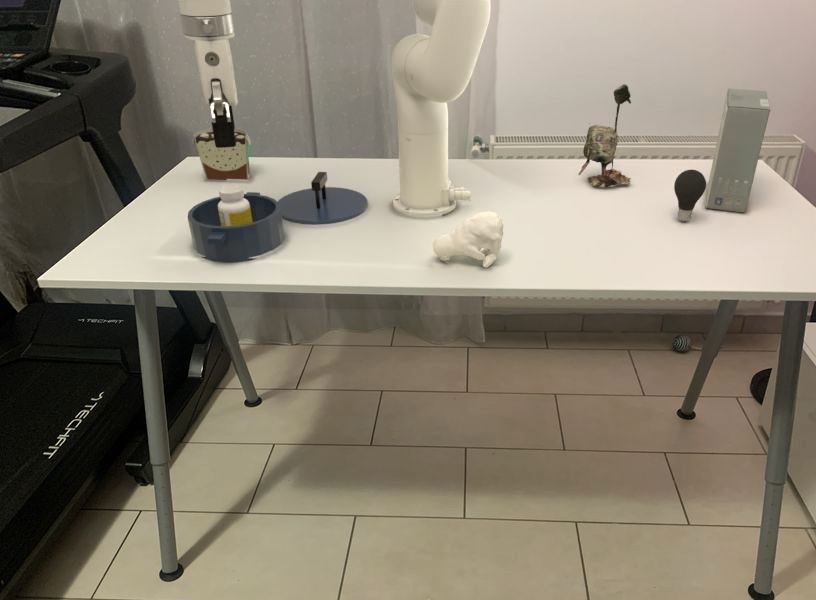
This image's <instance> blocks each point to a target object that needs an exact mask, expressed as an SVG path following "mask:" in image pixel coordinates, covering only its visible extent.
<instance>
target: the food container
mask: <svg viewBox="0 0 816 600" xmlns="http://www.w3.org/2000/svg"><path fill="white" fill-rule="evenodd" d="M234 134H235V140H236V146H235V147H224V148H217V147H216V146H215V141H214V135H213V129H212V128H208V129H203V130H200V131H197V132H195V133H193V137H192V145H195V146H196V149H197V153H198V156H199V160H200V163H201V166H202V170H203V172H204V176H205V180H206V181H207V182H226V181H227V180H250V158H249V157H250V156H249V146H251V144H252V142H251V138H250V136H249V134H248V132H247V131H246V130H245V129H242V128H237V127H235V129H234Z"/></svg>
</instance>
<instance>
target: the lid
mask: <svg viewBox="0 0 816 600" xmlns="http://www.w3.org/2000/svg"><path fill="white" fill-rule="evenodd" d="M327 182H328V173H327V171H318V172H317V173H316V175H315V177H314V178H313V179H312V181H311V182H310V185H311V188H305V189H301V190H297V191H293V192H291V193H288V194H286V195H284V196H282V197H281V198H280V199H278V200H277V202H278V203H280V209H281V216H282V220H283V219H284V220H286V221H287V222H288V221H289V222H291V223H295V224H296V223H297V224H302V225H329V224H335V223H340V222H344V221H348V220H350V219H354V218H355V217H358V216H359V215H361V214H363V213H364V212H365V211H366V210H367V208H368V206H369V204H368V203H369V201H368V198H367V197H366V195H364V194H363V193H361V192H359V191H357V190H354V189H350V188H345V187H333V186H326V184H327Z"/></svg>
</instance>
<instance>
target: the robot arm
mask: <svg viewBox="0 0 816 600" xmlns="http://www.w3.org/2000/svg"><path fill="white" fill-rule="evenodd" d="M177 4H178V9H179V14H180V15H179V16H180V20H181V21H180V23H181V26H182V33H183V37H184V39H186V40H190V41H192V43H193V48H194V54H195V59H196V65H197V71H198V75H199V80H200V84H201V89H202V94H203V97H204V102H205V105H206V106H207V107H208V108H210V112H211V119H212V120H211V129H213V135H214V141H215V146H216V147H217V148H224V147H235V146H236V140H235V134H234V129H235V128H236V126H235V119H234V112H233V107H236V106H237V105H238V104H239V100H238V99H239V98H238V90H237V83H236V77H235V69H234V61H233V56H232V51H231V45H230V40H229V39H232V38H235V36H236V34H235V27H234V26H235V25H234V21H233V20H234V19H233V14H232V13H233V12H232V6H231V0H177ZM491 4H492V3H491V0H414V10H415V14H416V16H417V18H418V19H419V20H420V22H421V23H423V24H424V25H425V26H426V27H429V28H431V32H430V35H427V34H422V33H413V34H410V35H409V34H408V35H406V36H404V37H403V38H401V39H400V41H398V42H397V43H396V45H395V46H394V49H393V51H392V53H391V58H390V75H391V80H392V86H393V91H394V99H395V106H396V120H397V121H396V123H397V125H396V126H397V149H398V150H397V151H398V172H399V173H398V174H399V176H398V177H399V194H397V195H396V196H395V197H394V198H393V199H392V207H393V209H394V210H395V211H397V212H399V213H401V214H404V215H409V216H417V217H427V216H428V217H429V216H437V215H442V216H444V215H447V214H449V213H451V212H453V210H455V209H456V206H457V201H461V202H463V201H465V202H471V200H472V199H471V198H472V191H471V190H466V187H454V185H452V180H451V179H449V110H448V103H450V102H453V101H455V100H457V99H458V98H459V97H460V96H461V95H462V94H463V93H464V91H465V90H466V88H467V87H468V85H469V83H470V81H471V78H472V75H473V73H474V70H475V67H476V64H477V61H478V58H479V55H480V52H481V48H482V45H483V42H484V40H485V37H486V33H487V30H488V26H489V23H490V19H491V10H492V9H491V6H492V5H491ZM232 105H233V106H232Z"/></svg>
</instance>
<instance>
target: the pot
mask: <svg viewBox="0 0 816 600" xmlns="http://www.w3.org/2000/svg"><path fill="white" fill-rule="evenodd" d="M243 198H245V199H247V200H248V202H249V204H250V209H251V215H252V221H253V223H249V224H244V225H238V226H221V222H220V217H219V212H218V204H219V202H220V201H221V200H222V199H221V198H220V196H216V197H213V198H209V199H206V200H204V201H201V202H199V203H197V204H196V205H194V206H192V208H190V209H189V210H188V212H187V222H188V226H189V231H190V235H191V241H192V245H193V248H194V250H195V251H196V253H197V254H199V255H201V258H202V259H205V260H208V261H211V262H217V263H242V262H249V261H254V260H256V258H254V257H258V256H263V255H265V254H267V253H269V252H273V251H274V250H275V249H277V248H278V247H280V246H281V245H282V244H283V242H284V240H285V239H286V238H285V230H284V224H283V218H282V216H281V209H280V203H278V200H276V199H275V198H273V197H270V196H268V195H263V194H261V192H257V191H255V192H252V191H247V192H246V193H244V197H243Z"/></svg>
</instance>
